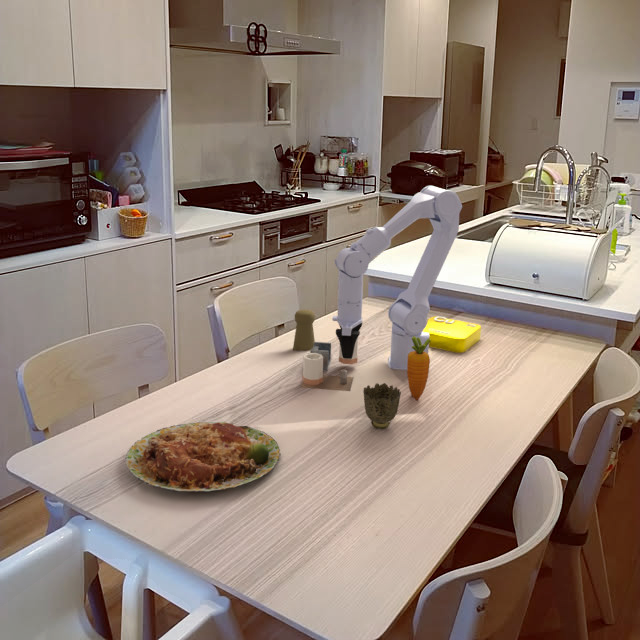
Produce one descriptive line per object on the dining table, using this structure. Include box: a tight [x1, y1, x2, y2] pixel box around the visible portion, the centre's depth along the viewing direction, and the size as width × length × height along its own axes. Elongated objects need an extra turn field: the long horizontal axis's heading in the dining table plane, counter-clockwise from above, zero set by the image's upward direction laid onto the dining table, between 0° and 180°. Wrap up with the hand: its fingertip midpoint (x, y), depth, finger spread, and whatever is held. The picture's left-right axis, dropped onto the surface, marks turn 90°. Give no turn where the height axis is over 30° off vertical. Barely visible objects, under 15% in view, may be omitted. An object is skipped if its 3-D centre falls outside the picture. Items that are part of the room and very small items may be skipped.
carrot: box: [406, 336, 431, 401], centre depth 153 cm, size 5×5×15 cm
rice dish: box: [124, 421, 282, 493], centre depth 129 cm, size 28×28×5 cm
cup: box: [362, 382, 402, 430], centre depth 142 cm, size 8×7×8 cm
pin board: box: [301, 369, 354, 392], centre depth 161 cm, size 11×8×4 cm
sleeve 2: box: [338, 337, 359, 365], centre depth 169 cm, size 4×4×6 cm
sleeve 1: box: [302, 352, 324, 385], centre depth 161 cm, size 4×4×6 cm
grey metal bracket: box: [309, 341, 332, 372], centre depth 170 cm, size 11×6×6 cm, turn 82°
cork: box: [292, 309, 316, 352], centre depth 182 cm, size 6×6×11 cm
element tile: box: [423, 315, 482, 354], centre depth 194 cm, size 15×15×5 cm
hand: (348, 354), depth 170 cm, fingers closed on sleeve 2, 4 cm apart
